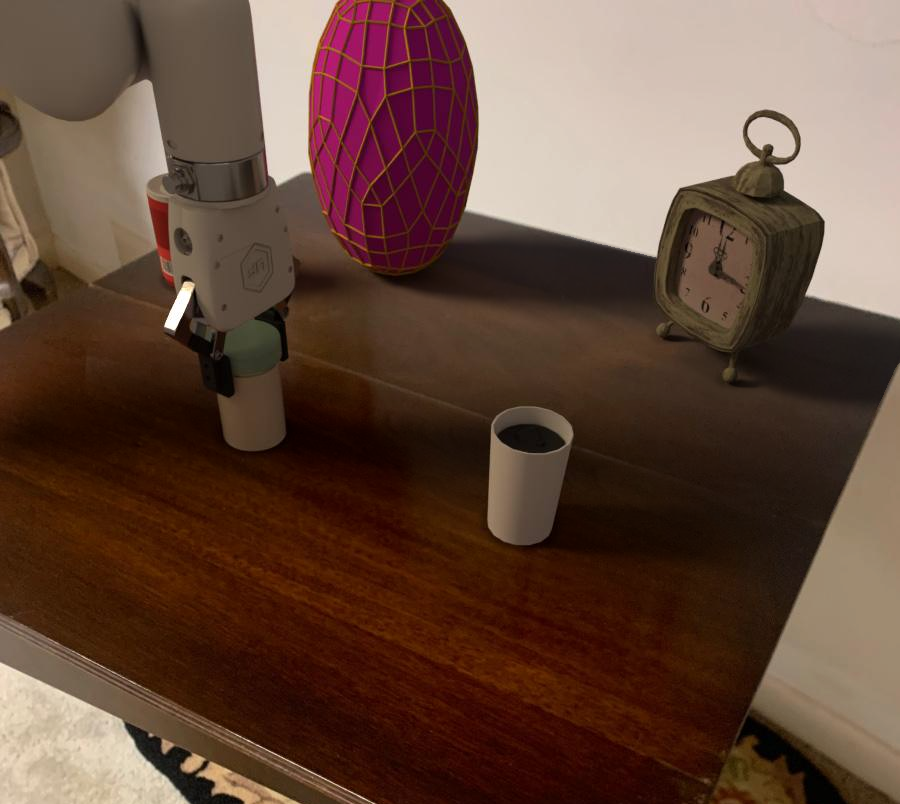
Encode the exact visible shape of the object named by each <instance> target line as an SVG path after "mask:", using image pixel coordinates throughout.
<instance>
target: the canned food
mask: <svg viewBox="0 0 900 804" xmlns="http://www.w3.org/2000/svg"><path fill="white" fill-rule="evenodd" d="M167 174H168V172H165V173H162V174H159V175H156V176H154V177H152V178H150V179H149V180H148V181H147V182H146V184H145V189H146V190H145V191H146V193H145V194H146V198H147V203H148V204H147V205H148V208H149V213H150V218H151V223H152V224H151V225H152V228H153V232H154V239H155V243H156V247H157V253H158V257H159V258H158V259H159V262H160V266H161V271H162V275H163V277H164V279H165V281H166V283H167V284H168V285H169V286H171V287H173V288H174V289H175V283H174V277H173V270H172V262H171V253H170V242H169V222H168V203H169V197H171V196H172V194H169V193H168V192H167V191H166V190H165V189H164V187H163V184H162V178H163V176H165V175H167Z"/></svg>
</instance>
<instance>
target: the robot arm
mask: <svg viewBox="0 0 900 804" xmlns="http://www.w3.org/2000/svg"><path fill="white" fill-rule="evenodd" d="M251 9H252V8H251V3H250V0H0V85H1V86H2V87H3V88H5V89H6V90H7V91H8V92H10V93H11V94H12V95H14V96H15V97H17V99H19V100H20V101H22V102H23V103H24V104H27V105H28V106H29V107H32V108H33V109H35V110H36V111H38V112H39V113H42V114H44V115H47V116H49V117H51V118H54V119H57V120H60V121H61V120H62V121H66V122H85V121H89V120H92V119H95V118H97V117H99V116H101V115H103V114H104V113H106V112H107V110H108V109H109V108H111V107H112V106H113V105H114V104H115V103H116V102H117V101H118V99H119V98H120V97H121V96H123V94H124V93H125V92H126V90H128V89H129V88H131V87H133V86H135V85H137V84H139V83H141V82H143V81H149V82H150V83H151V85H152V87H151V88H152V91H153V98H154V103H155V109H156V113H157V118H158V124H159V125H158V126H159V130H160V134H161V135H160V136H161V141H162V146H163V152H164V157H165V162H166V167H167V173H168V174H167V175H165V176H163V178H162V184H163V187H164V189H165V190H166V191H167V192H168V193H169V194H172V196H171V197H169V203H168V222H169V242H170V253H171V262H172V270H173V277H174V283H175V288H174V289H175V293H176V299H175V301H174V304H173V305H172V307H171V310H170V312H169V314H168V317H167V318H166V321H165V324H164V326H163V333H164V334H165V335H166V336H167V337H169V338H171V339H172V340H174V341H176V342H177V343H178V344H180V345H181V346H183V347H185V348H187V349H188V350H190V351H192V352H194V353H196V354H197V358H198V362H199V363H198V364H199V367H200V372H201V377H202V384H203V386H204V387H205V389H207V390H209V391H211V392H213V393H216V394H217V393H218V394H220V395H222V396H225V397H227V398H230V397H232V396H233V395H234V393H235V389H234V383H233V376H232V370H231V363H230V358H229V357H228V356H227V355H225V354H223V351H224V345H225V339H226V333H227V332H228V331H231V330H234V329H236V328H237V327H239V326H241V325H243V324H244V323H246V322H248V321H249V320H251V319H252V320H259V321H263V322H266V323H268V324H270V325H272V326H274V327H275V328H276V329H277V330H278V331H279V333H280V338H281V348H282V356H281V359H280V360H279V362H282V363H283V362H286V361H287V360H289V347H288V335H287V327H286V321H285V320H286V319H287V318H288V317H289V316H290V308H289V305H288V304H289V302H290V300H291V297H292V295H293V292H294V290H295V284H296V278H297V276H298V273H299V271H300V268H301V266H302V264H301V263H302V262H301V260H300V259H299V258H298V257H296V256H295V255H293V250H292V244H291V243H292V242H291V237H290V232H289V227H288V222H287V217H286V214H285V208H284V204H283V201H282V197H281V195H280V190H279V188H278V186H277V183H276V181H275V180H276V179H275V178H274V177H273V176H272V175H269V168H268V167H269V166H268V158H267V150H266V149H267V147H266V139H265V131H264V130H265V129H264V121H263V112H262V110H263V109H262V101H261V91H260V82H259V71H258V63H257V54H256V53H257V52H256V43H255V33H254V24H253V16H252V10H251ZM191 322H192V325H191ZM208 327H209V328H210V329H211V328H213V329H212V335H211V342H209V341H207V340H206V339H205V335H206V333H207V328H208Z"/></svg>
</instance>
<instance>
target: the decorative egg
mask: <svg viewBox="0 0 900 804" xmlns="http://www.w3.org/2000/svg"><path fill="white" fill-rule="evenodd" d="M463 34H464V33H462V30H461V27H460V26H459V24H458V21H457V19H456V17H455V15H454V13H453V11H452V9H451V8H450V7H449V6H448V4H447V3H446V2H445V1H444V0H338V1H336V3H335V4H334V6H333V9H332V10H331V12H330V15H329V18H328V19H327V21H326V24H325V26H324V28H323V30H322V33H321V35H320V37H319V39H318V42H317V46H316V50H315V54H314V58H313V61H312V67H311V74H310V82H309V88H308V119H307V120H308V127H307V130H308V133H307V137H308V138H307V151H308V152H307V155H308V160H309V166H310V173H311V177H312V180H313V185H314V188H315V191H316V195H317V199H318V203H319V206H320V209H321V213H322V215H323V218H324V219H325V221H326V223H327V225H328V227H329V230H330V231H331V234H332V235H333V236H334V238H335V239H336V240H337V242H338V244H339V245H340V247H341V248H342V249H343V251H344V252H345V253H346V255H348V257H349V258H350V259H352V260H354V261H355V262H357V263H358V264H360V265H361V266H362V267H364V268H366V269H368V270H369V271H371V272H373V273H375V274H382V275H387V276H396V277H397V276H404V275H410V274H415V273H417V272H419V271H421V270H423V269H426V268H428V266H430V265H431V264H433V263H434V262H435V261H436V260H437V259H439V258H440V257H441V256H442V255H443V254H444V252H445V250H446V249H447V247H448V246H449V244H450V243H451V242H452V240H453V238H454V237H455V234H456V231H457V229H458V227H459V224H460V222H461V220H462V217H463V216H464V213H465V210H466V208H467V203H468V199H469V195H470V192H471V191H470V190H471V186H472V181H473V177H474V172H475V167H476V161H477V155H478V150H479V130H480V118H479V117H480V116H479V115H480V114H479V99H478V94H477V86H476V79H475V77H476V76H475V72H474V71H475V69H474V65H473V62H472V59H471V58H472V57H471V55H470V51H469V48H468V45H467V44H468V43H467V42H466V39H465V36H464V35H463Z"/></svg>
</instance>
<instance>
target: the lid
mask: <svg viewBox="0 0 900 804" xmlns="http://www.w3.org/2000/svg"><path fill="white" fill-rule="evenodd" d="M212 329H213V328H211V327H210V329H209V330H207V331H206V335H205V339H206V340H207V341H209V342H211V335H212ZM223 354H225V355H227V356H228V357H229V358H230V363H231V370H232V374H236V375H247V374H254V373H259V372H262V371H265V370H267V369H270V368H271V367H273V366H274V365H276V364H277V363H278V362H279V363H280V361H279V360H280V359H281V356H282V348H281V338H280V333H279V331H278V330H277V329H276V328H275V327H274V326H272V325H270V324H268V323H266V322H263V321H259V320H254V319H251V320H249V321H248V322H246V323H244V324H243V325H241V326H239V327H237V328H236V329H234V330H231V331H228V332H227V333H226V339H225V345H224V351H223Z"/></svg>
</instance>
